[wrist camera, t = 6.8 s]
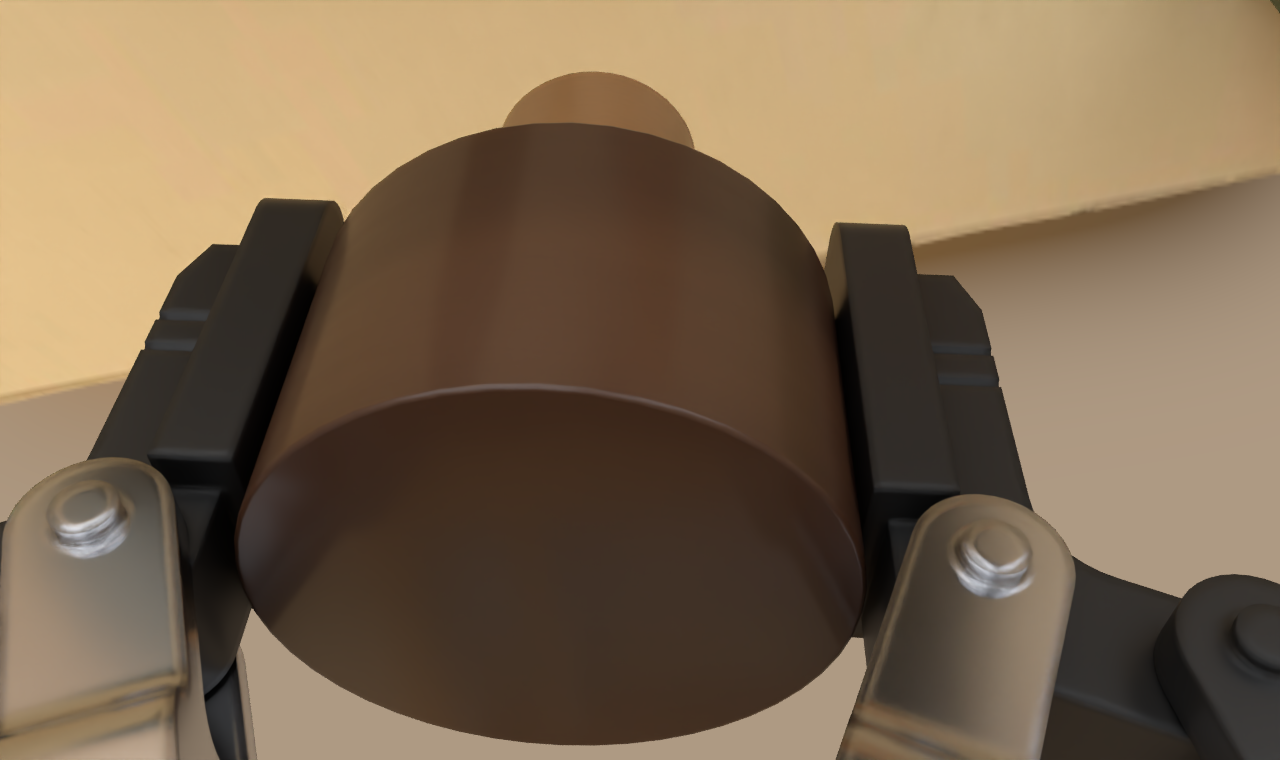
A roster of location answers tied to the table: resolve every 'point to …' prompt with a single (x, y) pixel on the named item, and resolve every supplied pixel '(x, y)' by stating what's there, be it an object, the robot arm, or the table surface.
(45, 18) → the table surface
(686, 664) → the stopper
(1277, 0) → the bottle
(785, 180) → the table surface
